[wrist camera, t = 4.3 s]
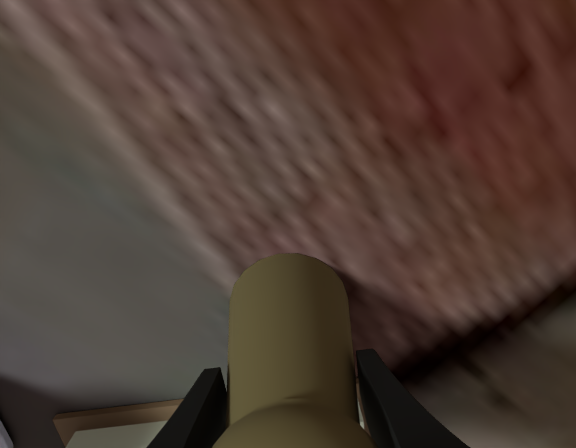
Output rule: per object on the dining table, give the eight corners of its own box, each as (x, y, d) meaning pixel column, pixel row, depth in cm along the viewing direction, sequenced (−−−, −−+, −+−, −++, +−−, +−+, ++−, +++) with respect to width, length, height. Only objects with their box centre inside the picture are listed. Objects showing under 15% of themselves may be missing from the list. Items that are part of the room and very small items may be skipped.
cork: (287, 228, 16) (296, 452, 6) (372, 305, 17) (505, 597, 7) (204, 309, 17) (89, 610, 7) (290, 374, 19) (300, 706, 8)
